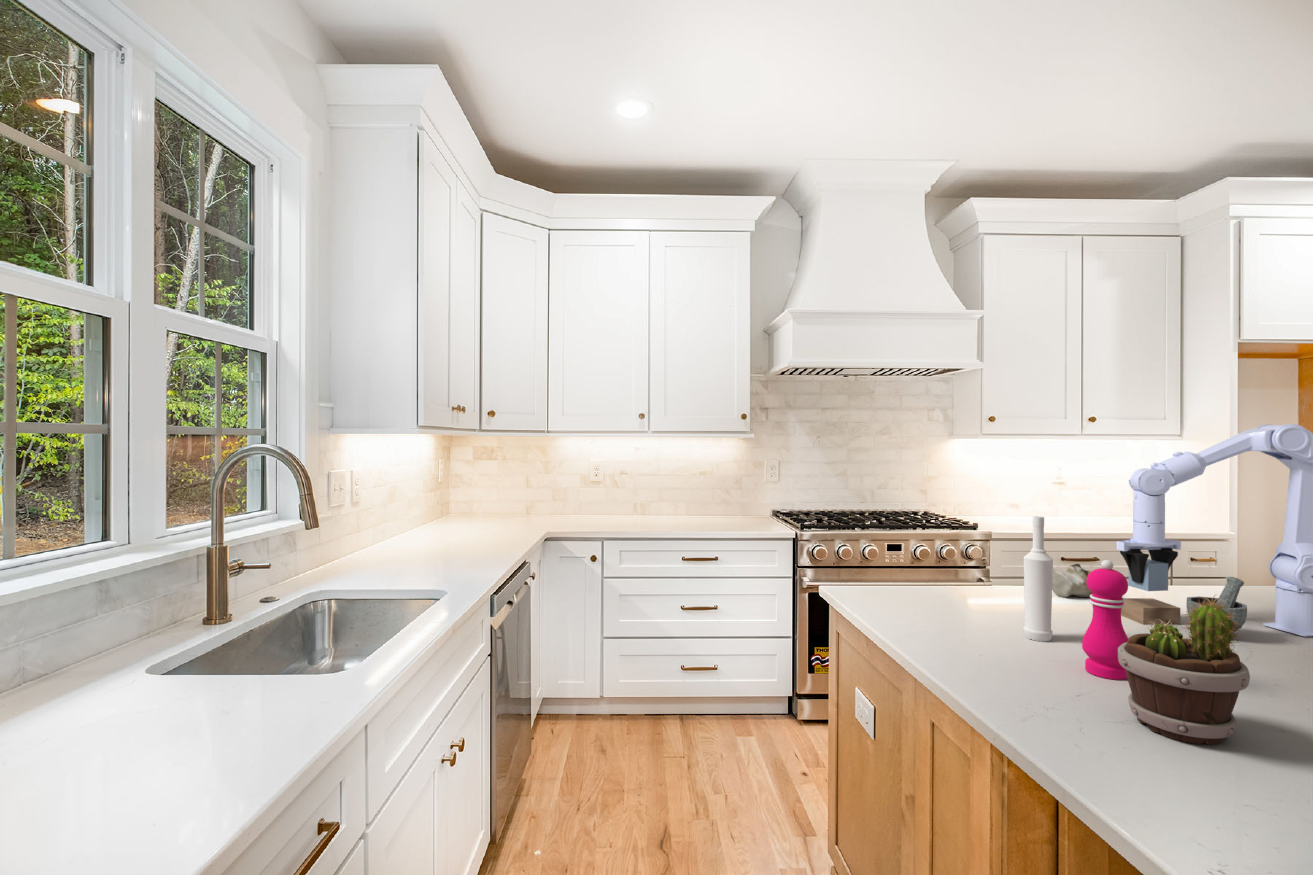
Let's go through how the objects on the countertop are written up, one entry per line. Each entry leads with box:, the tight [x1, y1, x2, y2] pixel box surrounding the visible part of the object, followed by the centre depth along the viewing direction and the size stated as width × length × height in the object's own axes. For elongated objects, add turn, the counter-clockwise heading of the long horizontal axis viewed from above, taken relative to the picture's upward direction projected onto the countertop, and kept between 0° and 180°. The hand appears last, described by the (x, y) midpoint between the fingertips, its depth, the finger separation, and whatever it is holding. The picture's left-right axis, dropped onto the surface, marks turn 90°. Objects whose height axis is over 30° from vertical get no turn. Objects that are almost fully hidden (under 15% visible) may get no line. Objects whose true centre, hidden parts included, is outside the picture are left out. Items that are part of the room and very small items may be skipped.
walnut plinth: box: [1121, 597, 1181, 626], centre depth 144 cm, size 8×8×4 cm
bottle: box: [1022, 515, 1054, 643], centre depth 131 cm, size 5×5×25 cm
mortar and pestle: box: [1186, 576, 1248, 641], centre depth 133 cm, size 11×9×12 cm
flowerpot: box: [1118, 595, 1251, 745], centre depth 91 cm, size 14×15×20 cm
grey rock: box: [1052, 563, 1092, 598], centre depth 164 cm, size 11×9×15 cm
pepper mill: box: [1081, 559, 1129, 681], centre depth 112 cm, size 7×7×20 cm
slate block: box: [1128, 558, 1169, 592], centre depth 144 cm, size 5×5×6 cm
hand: (1148, 581), depth 144 cm, fingers closed on slate block, 5 cm apart
